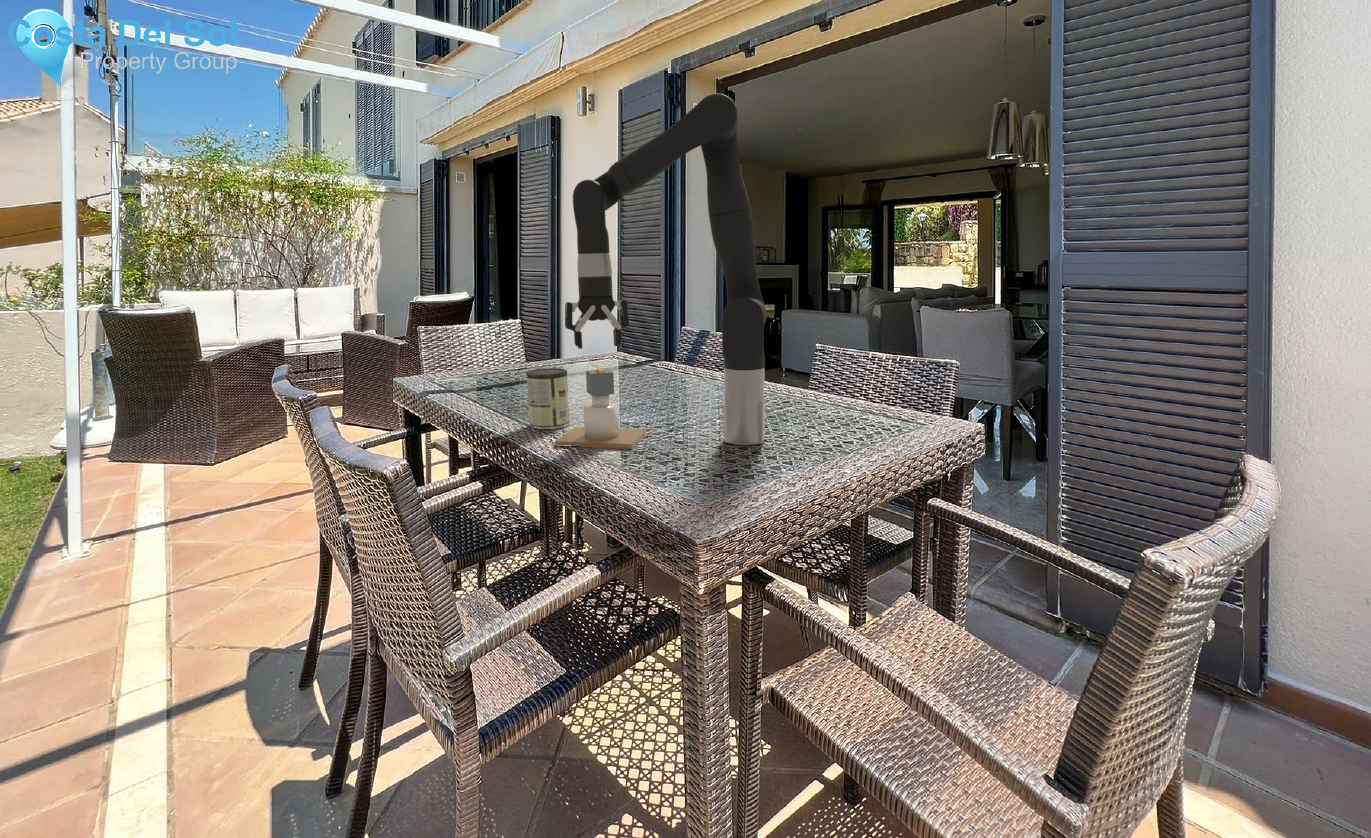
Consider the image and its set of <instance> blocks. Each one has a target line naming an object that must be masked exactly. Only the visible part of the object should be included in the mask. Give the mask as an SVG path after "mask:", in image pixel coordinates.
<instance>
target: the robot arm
mask: <svg viewBox="0 0 1371 838" xmlns="http://www.w3.org/2000/svg"><path fill="white" fill-rule="evenodd" d="M738 114H739V113H738V109H737V106H736V104H735V101H733V99H732V98H731V97H729V96H727V95H725V94H723V93H717V92H716V93H711V94H708V95H706V96H705V97H703V99H701V100H700V101H699V102H698V103H697V104H696V105H695V106H694V107H693V108H692V109H690V110H689V111H688V112H687V113H686V114H685V115H684V116H682V117H681V118H680V119H679V120H677V122H675V123H674V124H672V125H671V126H670V127H668V128H667V129H666V130H665V131H663V132H661V133H660V134H659V135H657V136H656V137H653V138H652V139H651V140H649V141H648V142H645V143H644V144H643V145H641V146H640V147H638V148H636V149H634V150H633V151H631V152H630V153H629V154H627V155H624V157H622V158H620V159H619V160H617V161H615V162H614V163H613V164H612V165H611V166H609V168H608V170H607V171H606V172H604V173H602V174H601V175H599V176H598V177H597V178H595V179H584V180H582V181H580V182H578V183H577V184H576V186H575V187H574V190H573V192H572V207H573V208H572V209H573V214H574V220H575V221H574V222H575V227H576V232H577V233H576V235H577V236H576V238H577V239H576V240H577V241H576V244H577V263H576V264H577V281H578V283H577V284H578V301H577V302H570V301H566V302H565V303H564V326H565V327H564V328H566V330H570V331H572V332H573V336H574V337H573V338H574V340H573V341H574V342H573V343H574V345H575V347H577V348H578V349H579V350H581V349H583V334H582V331H581V330H582V328H584V326H585V325H586V323H587V322H588V321H591V322H593V321H594V322H595V321H605V320H607V321H608V322H609V323H610V324H611V325H612V327H613V328H614V329H613V331H612V333H613V345H614V347H619V346H620V344H621V343H622V329H623V328H625V327H628V326H629V325H630V320H629V319H630V318H629V310H628V302H627V300H626V299H620V300H614V296H613V278H612V276H613V269H612V261H611V255H610V252H611V251H610V236H609V232H608V228H607V225H606V221H607V220H606V211H608V210H609V209H610V208H612V207H613V206H614V205H616V204H617V203H619V202H620V201H621V200H622V199H623V198H624V197H625V196H628V195H629V194H631V193H634V191H636V190H638V189H640V188H641V187H643V186H644V185H646V184H648V183H649V182H651V181H652V180H653V179H656V177H658V176H659V175H660V174H662V173H663V172H664V171H665V170H666V169H668V168H669V167H670V166H671V165H673V164H674V163H675V162H676V161H677V160H679V159H680V158H681V157H683V156H685V155H687V153H689V152H691V151H693V150H694V149H696V148H698V147H700V148H701V152H702V156H703V161H704V164H705V170H706V193H707V209H708V210H707V212H708V218H709V223H710V230H711V236H712V240H713V244H714V248H715V250H716V254H717V257H718V260H719V263H720V265H721V268H722V271H723V274H724V279H725V287H726V300H727V301H726V302H727V303H726V305H725V306H724V309H723V312H722V318H721V342H722V348H721V349H722V351H721V352H722V357H723V441H724V442H725V443H727V444H731V445H735V446H753V445H762V444H764V440H765V431H766V430H765V429H766V428H765V424H766V423H765V421H766V420H765V417H766V399H765V373H766V371H765V369H766V368H765V367H766V366H765V365H766V363H765V362H766V361H765V360H766V357H765V347H764V343H765V340H764V339H765V336H764V335H765V332H764V331H765V324H766V322H767V317H768V316H767V309H766V306H765V303H764V299H763V298H764V297H763V295H762V291H761V287H760V286H761V285H760V283H759V278H758V274H757V273H758V272H757V261H756V258H757V255H756V244H755V243H756V242H755V234H754V233H755V232H754V225H753V224H754V222H753V217H752V209H751V205H750V204H751V203H750V200H749V195H748V191H747V188H746V185H745V181H744V178H743V175H742V171H741V169H740V168H741V167H740V162H739V154H738V151H739V150H738V140H737V136H738V132H737V131H738V130H737V128H738V121H739V120H738V119H739V115H738ZM615 307H616V309H617V310H619V315H620V321H618V320H617V317H615V316H614V314H613V313H612V311H614V309H615ZM576 309H578V310H579V312H581V314H580V316H578V319H577V321H576V322H575V324H573V313H574V312H576Z"/></svg>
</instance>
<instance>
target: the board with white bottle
mask: <svg viewBox="0 0 1371 838" xmlns="http://www.w3.org/2000/svg"><path fill="white" fill-rule="evenodd" d="M583 422H584V423H583V424H584V426H583V427H579V426H577V427H573V428H572V429H570V430H568V431H567V432H566V433H565V434H563V435H561V436H560V437H559V438H558V439H556V440H555V441H554V446H555V445H571V446H582V447H581V448H585V447H592V448H593V449H611V450H612V449H616V450H632V449H634V448H635V447H636V445H638V443H639V442H640V441H641V440H642V439H644V437H645V436H646V435H647V429H644V428H643V429H641V428H640V429H638V428H620V426H619V404H617V403H613V402H610V394H608V395H595V396H592V395H591V403H588V404H584V405H583ZM592 448H591V449H592Z"/></svg>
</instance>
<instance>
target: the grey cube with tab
mask: <svg viewBox="0 0 1371 838" xmlns="http://www.w3.org/2000/svg"><path fill="white" fill-rule="evenodd" d="M614 379H615V378H614V371H611V370H610V369H607V368H606V369H604V368H596V369H594V370H593V369H591V370H586V371H585V380H586V381H585V382H586V393H588V394H589V395H590V396H591V397H592V396H595V395H608V394H609V395H615V382H614V381H615V380H614Z"/></svg>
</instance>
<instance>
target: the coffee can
mask: <svg viewBox="0 0 1371 838" xmlns="http://www.w3.org/2000/svg"><path fill="white" fill-rule="evenodd" d="M525 376H526V384H527V385H526V387H527V402H528V415H529V417H528V418H529V427H530V426H533V427H536V428H540V429H551V430H559V429H565V428H566V427H569V426H570V410H569V409H570V408H569V388H568V370H567V369H565V368H564V369H563V368H554V367H553V368H550V367H549V368H547V367H546V368H537V369H531V370H528V371H526V372H525Z"/></svg>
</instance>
